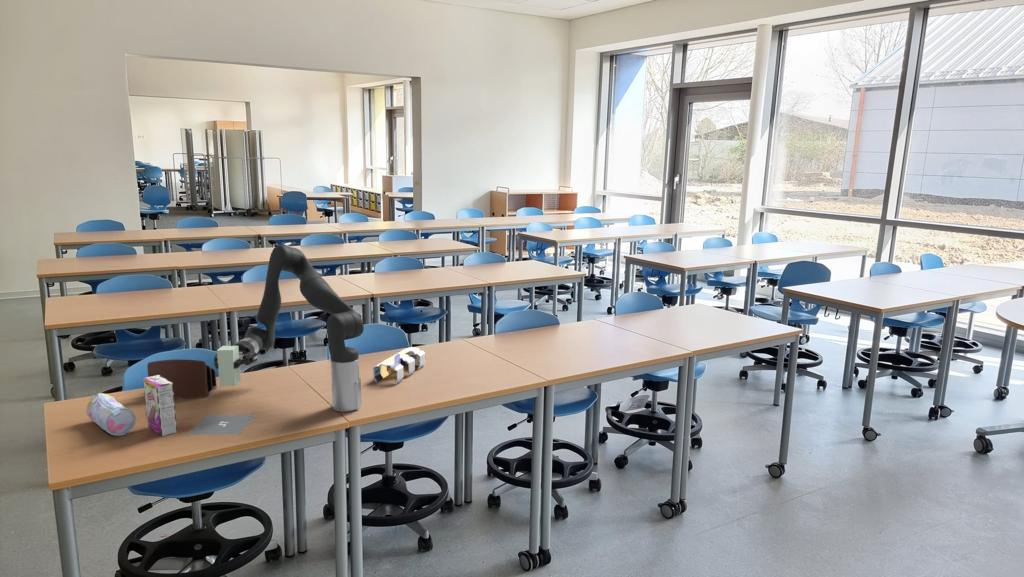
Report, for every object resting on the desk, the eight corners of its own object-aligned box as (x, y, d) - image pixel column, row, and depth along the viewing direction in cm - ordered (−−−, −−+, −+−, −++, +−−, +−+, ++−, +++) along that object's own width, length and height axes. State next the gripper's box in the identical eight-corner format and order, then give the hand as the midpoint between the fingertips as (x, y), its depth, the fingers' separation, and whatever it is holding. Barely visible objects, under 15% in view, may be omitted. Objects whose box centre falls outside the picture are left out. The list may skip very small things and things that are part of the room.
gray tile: (256, 415, 217) (256, 414, 217) (239, 434, 201) (239, 434, 201) (207, 415, 216) (207, 414, 216) (186, 435, 200) (186, 434, 200)
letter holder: (207, 397, 233) (204, 359, 230) (149, 399, 231) (145, 360, 228) (217, 388, 243) (214, 351, 240) (161, 389, 240) (157, 352, 238)
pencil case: (86, 422, 210) (83, 394, 208) (116, 415, 216) (114, 387, 214) (107, 441, 196) (103, 411, 194) (138, 433, 202) (135, 404, 200)
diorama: (397, 385, 248) (396, 352, 246) (373, 382, 251) (372, 350, 249) (425, 366, 272) (425, 336, 269) (403, 364, 275) (402, 334, 272)
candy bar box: (147, 427, 206) (142, 377, 203) (163, 423, 209) (159, 374, 206) (161, 437, 199) (156, 386, 195) (178, 432, 202) (173, 382, 199)
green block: (240, 380, 217) (238, 345, 215) (235, 385, 212) (232, 350, 210) (225, 380, 217) (222, 345, 215) (219, 385, 212) (216, 350, 210)
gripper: (222, 340, 226) (202, 354, 210) (264, 340, 227) (247, 354, 211) (224, 361, 228) (204, 377, 211) (265, 361, 229) (249, 376, 212)
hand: (226, 365), depth 211 cm, fingers closed on green block, 5 cm apart
